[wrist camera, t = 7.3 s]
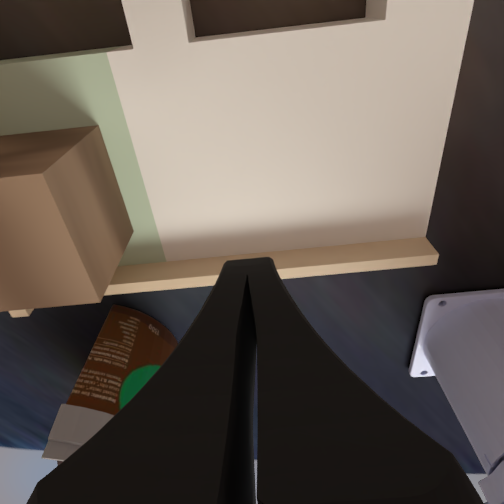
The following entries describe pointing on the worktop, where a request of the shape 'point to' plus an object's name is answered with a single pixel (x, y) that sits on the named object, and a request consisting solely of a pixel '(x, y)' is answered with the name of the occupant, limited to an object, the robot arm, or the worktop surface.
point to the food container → (109, 377)
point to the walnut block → (58, 219)
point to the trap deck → (260, 137)
